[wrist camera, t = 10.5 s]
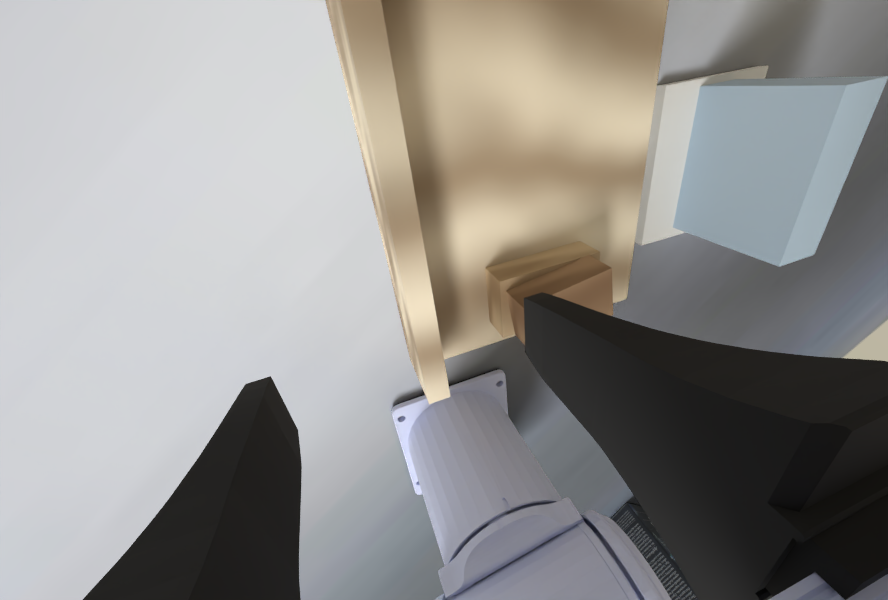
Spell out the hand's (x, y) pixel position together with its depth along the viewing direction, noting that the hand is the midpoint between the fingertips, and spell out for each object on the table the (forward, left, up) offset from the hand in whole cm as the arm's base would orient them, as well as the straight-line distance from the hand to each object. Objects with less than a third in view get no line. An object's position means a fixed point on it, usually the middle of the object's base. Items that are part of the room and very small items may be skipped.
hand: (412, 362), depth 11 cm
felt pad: (0, -21, -10) cm, 23 cm away
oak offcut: (-4, -9, -9) cm, 13 cm away
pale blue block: (0, -21, -9) cm, 23 cm away
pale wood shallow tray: (+2, -9, -10) cm, 13 cm away
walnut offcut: (-4, -9, -7) cm, 12 cm away
